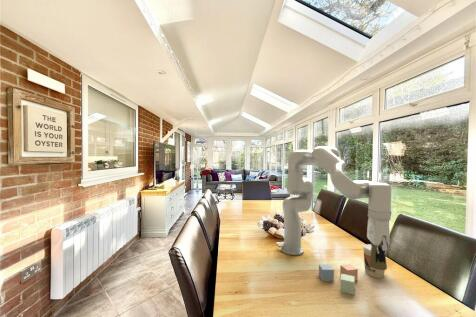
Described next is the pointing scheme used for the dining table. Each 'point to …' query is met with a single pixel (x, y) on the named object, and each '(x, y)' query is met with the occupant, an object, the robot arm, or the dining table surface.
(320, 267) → the slate cube
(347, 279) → the sage cube
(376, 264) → the cork
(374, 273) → the coffee cup
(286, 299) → the dining table surface
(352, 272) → the terracotta cube
